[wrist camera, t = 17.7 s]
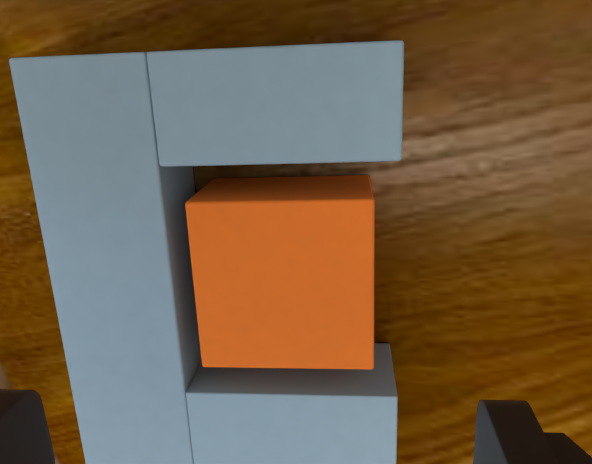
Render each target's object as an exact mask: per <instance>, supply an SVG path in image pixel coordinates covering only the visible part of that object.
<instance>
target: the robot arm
mask: <svg viewBox="0 0 592 464" xmlns="http://www.w3.org/2000/svg"><path fill="white" fill-rule="evenodd" d="M0 464H55V458H54V453H53V448H52V444H51V439H50V435H49V430H48V426H47V422H46V417H45V413H44V408H43V404H42V400H41V397H40V395H39V394H38V393H37V392H36V391H34V390H7V389H6V390H5V389H0ZM473 464H592V458H591V456H590V455H588V454H587V453H586V452H585V451H584V450H583V449H581V448H580V447H579V446H578V445H577V444H576V443H574V442H573V441H572V440H571V439H570V438H569V437H567V436H566V435H565V434H564V433H544V432H543V430H542V428H541V426H540V425H539V423H538V421H537V419H536V417H535V415H534V413H533V411H532V409H531V407H530V405H529V404H528V402H526V401H516V400H480V401H479V403H478V407H477V418H476V432H475V447H474V461H473Z"/></svg>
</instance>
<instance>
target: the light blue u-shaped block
mask: <svg viewBox="0 0 592 464" xmlns="http://www.w3.org/2000/svg"><path fill="white" fill-rule="evenodd" d="M9 63H10V68H11V74H12V79H13V84H14V89H15V95H16V100H17V105H18V110H19V116H20V121H21V126H22V131H23V137H24V142H25V147H26V152H27V158H28V163H29V168H30V173H31V179H32V184H33V189H34V194H35V200H36V205H37V210H38V215H39V221H40V226H41V231H42V236H43V242H44V247H45V252H46V257H47V263H48V268H49V273H50V278H51V284H52V289H53V294H54V299H55V305H56V310H57V315H58V320H59V326H60V331H61V336H62V341H63V347H64V352H65V357H66V362H67V368H68V373H69V378H70V383H71V389H72V394H73V399H74V404H75V410H76V415H77V420H78V425H79V431H80V436H81V441H82V446H83V452H84V457H85V462H86V464H396V453H397V401H398V397H397V390H396V384H395V377H394V370H393V363H392V357H391V350H390V344H389V343H374V368H373V369H371V370H370V369H301V368H233V367H203V366H202V360H201V351H200V341H199V332H198V322H197V313H196V303H195V294H194V284H193V275H192V265H191V256H190V246H189V237H188V227H187V218H186V208H185V203H186V202H187V201H188V200H189V199H190V198H191V197H193V196H194V195H195V185H194V175H193V166H216V165H259V164H301V163H344V162H386V161H400V160H401V159H402V130H403V77H404V42H403V41H401V40H393V41H371V42H349V43H327V44H305V45H283V46H261V47H239V48H218V49H196V50H174V51H152V52H130V53H108V54H86V55H64V56H42V57H20V58H11V59H9Z"/></svg>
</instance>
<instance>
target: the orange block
mask: <svg viewBox="0 0 592 464" xmlns="http://www.w3.org/2000/svg"><path fill="white" fill-rule="evenodd" d="M185 208H186V218H187V227H188V237H189V246H190V256H191V265H192V275H193V284H194V294H195V303H196V313H197V322H198V332H199V341H200V351H201V360H202V366H203V367H233V368H301V369H370V370H371V369H373V368H374V241H375V201H374V196H373V190H372V185H371V180H370V176H368V175H352V176H305V177H258V178H214V179H212V180H211V181H210V182H209V183H207V184H206V185H205V186H204V187H203V188H202V189H201V190H199V191H198V192H197V193H196V194H195V195H194V196H193V197H191V198H190V199H189V200H188V201H187V202H186V203H185Z"/></svg>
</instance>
